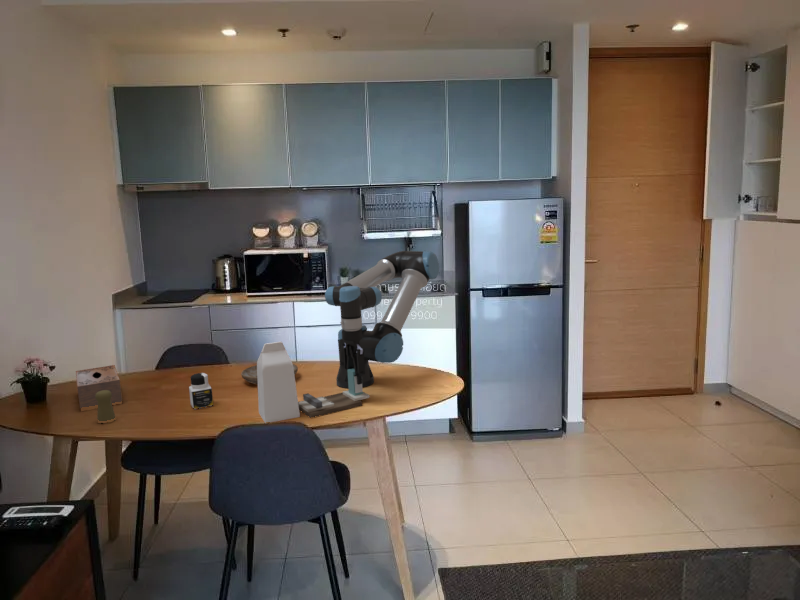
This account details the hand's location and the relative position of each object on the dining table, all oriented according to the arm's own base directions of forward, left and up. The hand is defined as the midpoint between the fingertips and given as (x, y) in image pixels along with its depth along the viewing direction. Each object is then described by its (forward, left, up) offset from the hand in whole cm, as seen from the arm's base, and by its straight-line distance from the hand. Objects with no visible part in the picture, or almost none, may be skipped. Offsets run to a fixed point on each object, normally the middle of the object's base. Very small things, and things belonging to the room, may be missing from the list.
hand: (355, 390), depth 226 cm
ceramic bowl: (-46, -16, -4) cm, 49 cm away
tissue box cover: (-67, -79, -4) cm, 104 cm away
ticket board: (0, -11, -4) cm, 12 cm away
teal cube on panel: (0, 0, -2) cm, 2 cm away
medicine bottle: (-32, -48, -4) cm, 58 cm away
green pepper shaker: (-37, -80, -4) cm, 88 cm away
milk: (-3, -29, -4) cm, 29 cm away
